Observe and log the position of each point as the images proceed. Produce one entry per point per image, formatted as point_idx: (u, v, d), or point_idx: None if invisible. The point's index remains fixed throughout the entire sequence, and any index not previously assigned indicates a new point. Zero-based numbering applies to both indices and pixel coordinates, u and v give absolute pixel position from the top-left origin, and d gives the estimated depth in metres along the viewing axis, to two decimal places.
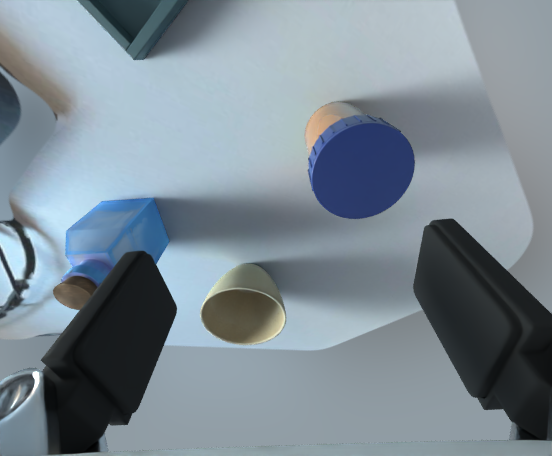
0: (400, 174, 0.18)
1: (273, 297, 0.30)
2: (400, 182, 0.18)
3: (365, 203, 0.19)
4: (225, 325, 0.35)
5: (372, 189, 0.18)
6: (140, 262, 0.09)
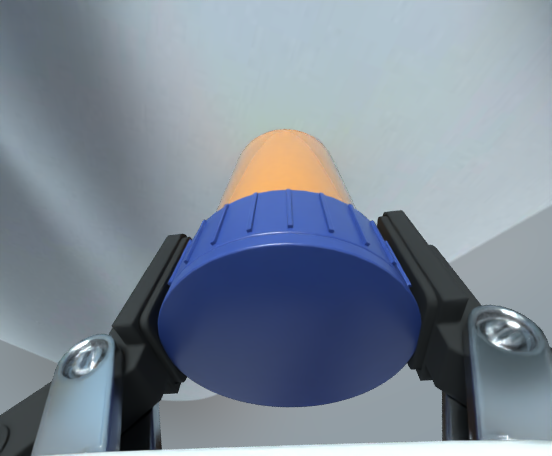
0: (298, 394, 0.08)
1: None
2: (281, 397, 0.08)
3: (216, 363, 0.07)
4: None
5: (255, 367, 0.08)
6: (183, 244, 0.09)
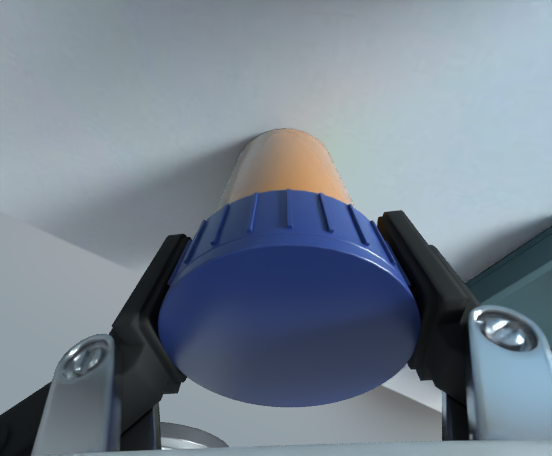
0: (298, 394, 0.08)
1: None
2: (281, 397, 0.08)
3: (216, 363, 0.07)
4: None
5: (255, 367, 0.08)
6: (183, 244, 0.09)
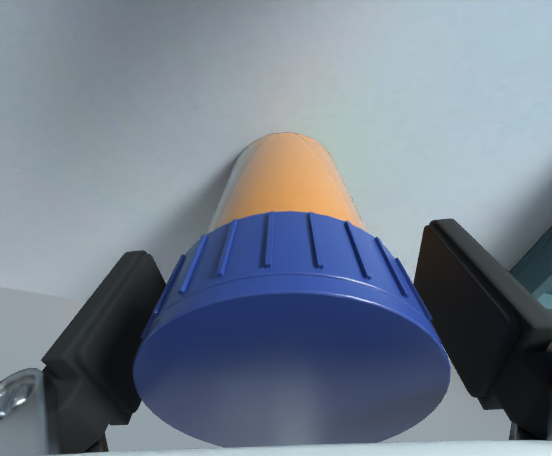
0: (335, 439, 0.07)
1: None
2: None
3: (226, 427, 0.07)
4: None
5: (269, 423, 0.07)
6: (140, 262, 0.09)
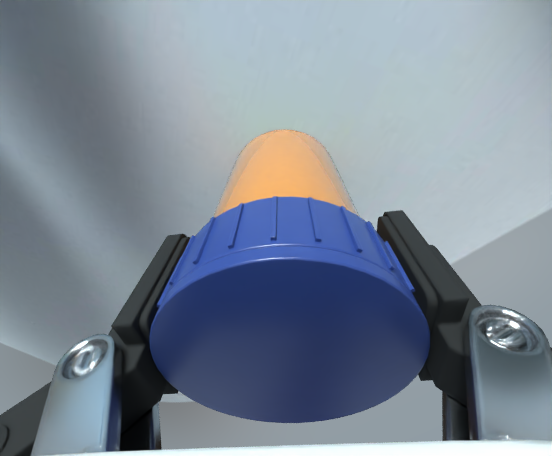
0: (389, 364, 0.07)
1: None
2: (389, 377, 0.07)
3: (303, 404, 0.08)
4: None
5: (318, 385, 0.07)
6: (183, 244, 0.09)
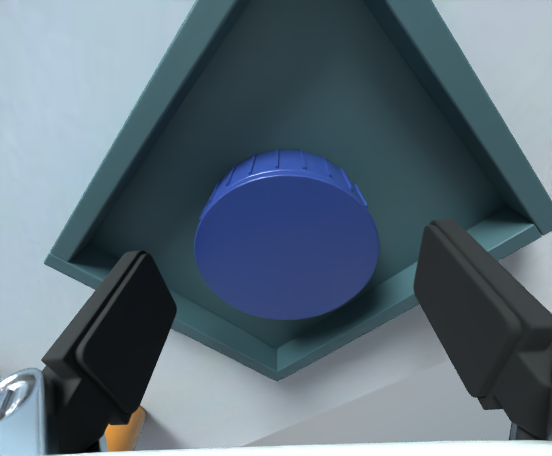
0: (354, 261, 0.10)
1: None
2: (355, 273, 0.10)
3: (296, 300, 0.11)
4: None
5: (307, 281, 0.10)
6: (140, 262, 0.09)
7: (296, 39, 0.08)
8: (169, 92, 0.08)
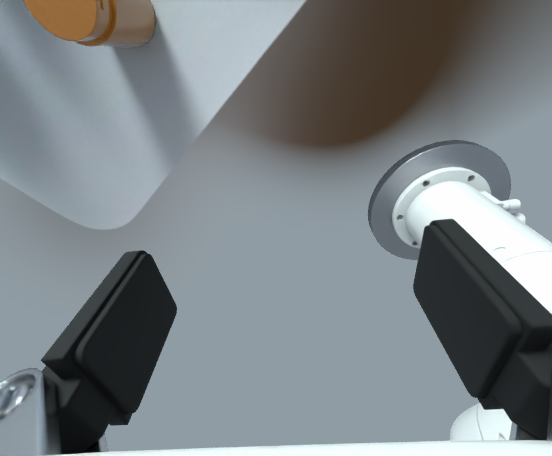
0: None
1: None
2: None
3: None
4: None
5: None
6: (140, 262, 0.09)
7: None
8: None
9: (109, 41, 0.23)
